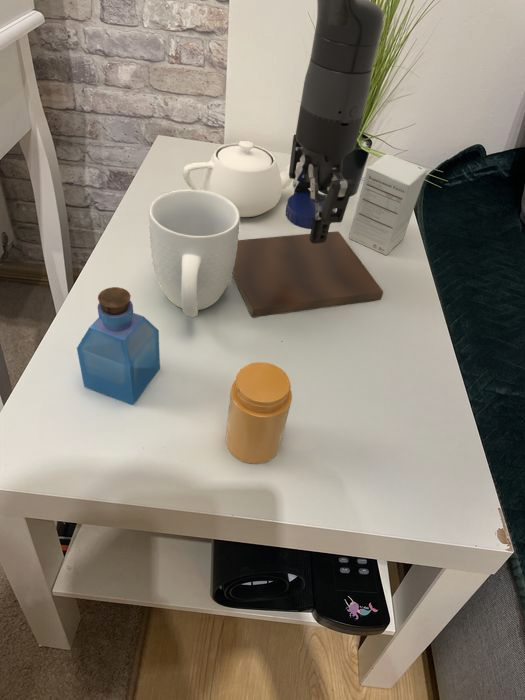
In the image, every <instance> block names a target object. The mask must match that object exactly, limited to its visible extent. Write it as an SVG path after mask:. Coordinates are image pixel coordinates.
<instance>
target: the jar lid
mask: <svg viewBox="0 0 525 700" xmlns="http://www.w3.org/2000/svg"><path fill="white" fill-rule="evenodd" d="M319 194H320V195H323V194H322V193H319ZM286 202H287V203H286V205H285V217H286V219H287V220H288V221H289V223H291V224H292V225H294V226H296V227H299V228H301V229H306V230H311V228H312V223H313V219H314V217H315V204H314V202H313V201H312V200H311V192H300V193H296V194H294V193H293V194H292V195H290V196H289V197H288V199H287V201H286ZM324 205H325V201H323V202H322V210H323V208H324ZM331 224H332V223H330V225H331Z"/></svg>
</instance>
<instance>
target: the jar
mask: <svg viewBox="0 0 525 700" xmlns="http://www.w3.org/2000/svg"><path fill="white" fill-rule="evenodd" d="M291 387H292V386H291V381H290V378H289V376H288V374H287V373H286V371H284V369H282V368H281V367H279V366H277V365H276V364H273V363H270V362H265V361H264V362H263V361H257V362H251V363H249V364H247V365H245V366H243V367H242V368H240V370H239V371H238V372H237V373H236V376H235V379H234V380H233V382H232V384H231V387H230V394H229V403H228V411H227V420H226V430H225V436H224V437H225V439H224V440H225V445H226V447H227V450H228V451H229V453H230V454H231V455H232V456H233V457H234V458H235V459H237V460H239V461H241V462H242V463H246V464H253V465H256V464H264V463H266V462H269V461H270V460H272V459H273V458H274V457H276V455H277V454H278V453H279V452H280V449H281V445H282V442H283V441H282V440H283V437H284V433H285V428H286V425H287V420H288V417H289V416H288V415H289V413H290V408H291V404H292V400H293V393H292V389H291Z"/></svg>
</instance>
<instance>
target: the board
mask: <svg viewBox="0 0 525 700" xmlns="http://www.w3.org/2000/svg"><path fill="white" fill-rule="evenodd" d="M309 237H310V233H302V234H292V235H291V234H290V235H280V236H270V237H269V236H267V237H259V238H247V239H238V244H237V252H236V259H235V264H234V267H233V272H232V274H231V276H232V278H233V280H234V282H235V284H236V286H237V288H238V291H239V292H240V294H241V296H242V299H243V301H244V303H245V306H246V307H247V311H248V312H249V313H250V316H251V318H256V317H263V316H264V317H265V316H270V315H278V314H285V313H286V314H287V313H292V312H300V311H307V310H308V311H309V310H313V309H315V310H316V309H321V308H329V307H336V306H343V305H352V304H358V303H365V302H373V301H380V300H382V298H383V296H384V290H383V289H382V288H381V286H380V285H379V284H378V282H377V281H376V279H375V278H374V277H373V276H372V274H371V273H370V271H369V270H368V269H367V267H366V266H365V265H364V264H363V262H362V261H361V259H360V258H359V257H358V255H357V254H356V253H355V251H354V250H353V249H352V248H351V246H350V245H349V244H348V242H347V241H346V240H345V238H344V237H343V236H342V234H341V233H340V231H335V230H334V231H328V234H327V239H326V241H325V242H324V243H317V244H312V243H311V241H310V240H309Z"/></svg>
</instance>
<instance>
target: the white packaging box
mask: <svg viewBox="0 0 525 700" xmlns="http://www.w3.org/2000/svg"><path fill="white" fill-rule="evenodd" d="M427 173H428V169H427V168H425V167H423V166H421V165H418V164H416V163H412V162H410V161H407V160H405V159H402V158H399V157H397V156H394V155H392V154H389V153H385V154H384V155H383V156H381V157H380V158H378V159H377V160H376V161H375V162H373V163H372V164H370V165H369V166H368V167H366V171H365V176H364V179H363V183H362V186H361V190H360V193H359V198H358V200H357V205H356V209H355V212H354V216H353V219H352V224H351V227H350V231H349V236H348V238H349V239H350V240H352V241H354V242H356V243H359V244H360V245H363V246H365V247H367V248H369V249H371V250H373V251H376V252H378V253H380V254H383V255H385V256H387V255H388V254H390V252H391V251H393V249H394V248H396V246H397V245H398V244H400V242H401V241H402V240H403V239H404V238H405V235H406V233H407V230H408V227H409V225H410V221H411V218H412V215H413V213H414V210H415V207H416V205H417V201H418V198H419V195H420V193H421V189H422V188H423V187H422V186H423V184H424V181H425V179H426V175H427Z"/></svg>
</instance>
